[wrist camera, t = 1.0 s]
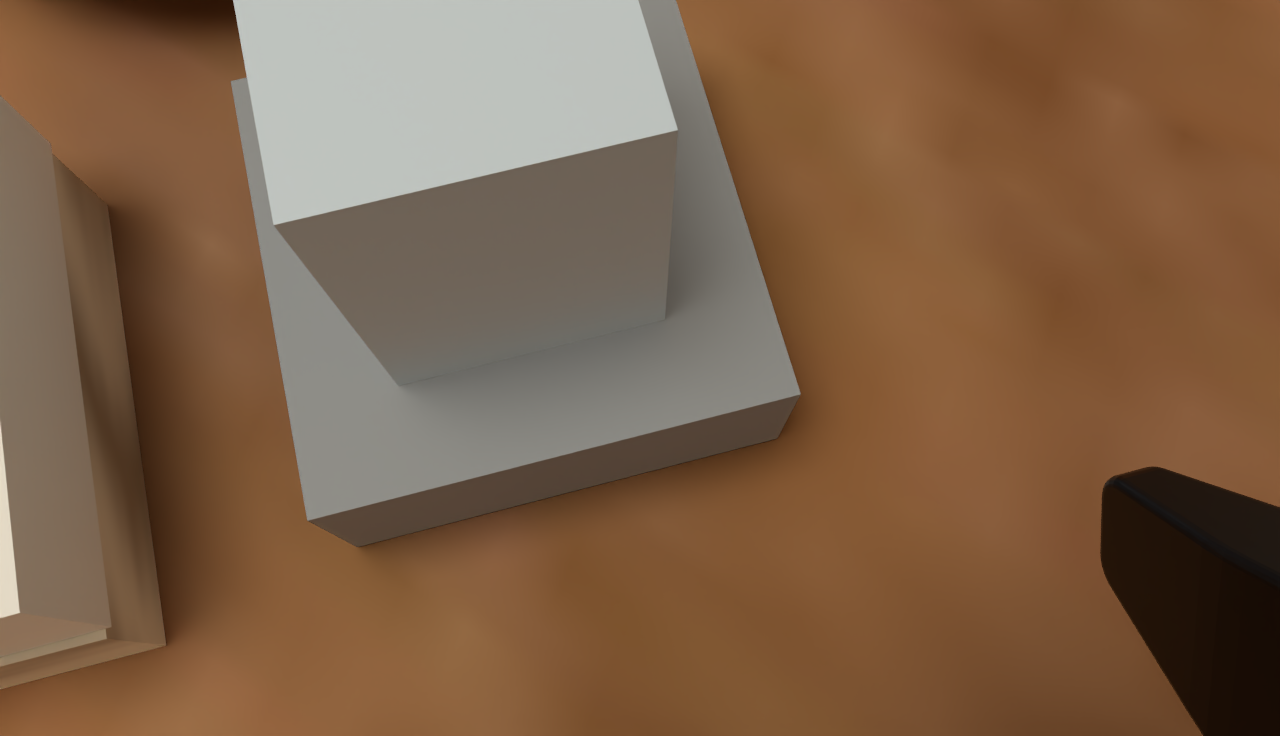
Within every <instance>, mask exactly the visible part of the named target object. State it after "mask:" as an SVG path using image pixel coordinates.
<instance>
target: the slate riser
mask: <svg viewBox="0 0 1280 736" xmlns="http://www.w3.org/2000/svg"><path fill="white" fill-rule="evenodd" d="M638 1H639V4H640V7H641V11H642V14H643V17H644V21H645V24H646V27H647V30H648V34H649V37H650V40H651V44H652V47H653V50H654V53H655V57H656V60H657V63H658V66H659V70H660V73H661V76H662V80H663V83H664V86H665V89H666V93H667V96H668V99H669V102H670V106H671V109H672V112H673V116H674V119H675V122H676V125H677V129H678V136H677V151H676V166H675V180H674V195H673V210H672V224H671V239H670V254H669V268H668V283H667V298H666V312H665V320H662V321H658V322H654V323H650V324H646V325H642V326H638V327H634V328H630V329H626V330H622V331H618V332H614V333H610V334H606V335H601V336H597V337H593V338H589V339H585V340H581V341H577V342H573V343H569V344H565V345H561V346H557V347H553V348H549V349H545V350H541V351H537V352H533V353H529V354H525V355H521V356H517V357H513V358H509V359H505V360H501V361H497V362H493V363H489V364H485V365H481V366H477V367H473V368H469V369H465V370H461V371H457V372H452V373H448V374H444V375H440V376H436V377H432V378H428V379H424V380H420V381H416V382H412V383H408V384H404V385H400V386H398V385H397V384H396V382H395V381H394V380H393V379H392V377H391V376H390V375H389V373H388V372H387V371H386V370H385V368H384V367H383V366H382V364H381V363H380V362H379V360H378V359H377V358H376V357H375V355H374V354H373V353H372V351H371V350H370V349H369V348H368V346H367V345H366V344H365V342H364V341H363V340H362V339H361V337H360V336H359V335H358V333H357V332H356V331H355V330H354V328H353V327H352V326H351V324H350V323H349V322H348V321H347V319H346V318H345V317H344V315H343V314H342V313H341V311H340V310H339V309H338V308H337V306H336V305H335V304H334V302H333V301H332V300H331V299H330V297H329V296H328V295H327V293H326V292H325V291H324V290H323V288H322V287H321V286H320V284H319V283H318V282H317V281H316V279H315V278H314V277H313V275H312V274H311V273H310V272H309V270H308V269H307V268H306V266H305V265H304V264H303V263H302V261H301V260H300V259H299V257H298V256H297V255H296V253H295V252H294V251H293V250H292V248H291V247H290V246H289V244H288V243H287V242H286V241H285V239H284V238H283V237H282V235H281V234H280V233H279V232H278V230H277V229H276V228H275V226H274V225H273V220H272V214H271V208H270V203H269V197H268V192H267V186H266V181H265V175H264V169H263V164H262V158H261V153H260V147H259V142H258V136H257V130H256V125H255V119H254V114H253V108H252V103H251V97H250V91H249V86H248V80H247V78H243V79H239V80H234V81H231V85H232V91H233V96H234V102H235V108H236V114H237V119H238V125H239V131H240V136H241V142H242V148H243V154H244V159H245V165H246V171H247V177H248V182H249V188H250V194H251V200H252V205H253V211H254V217H255V223H256V228H257V234H258V240H259V245H260V251H261V257H262V263H263V268H264V274H265V280H266V286H267V291H268V297H269V303H270V309H271V314H272V320H273V326H274V332H275V337H276V343H277V349H278V354H279V360H280V366H281V372H282V377H283V383H284V389H285V395H286V400H287V406H288V412H289V418H290V423H291V429H292V435H293V441H294V446H295V452H296V458H297V463H298V469H299V475H300V481H301V486H302V492H303V498H304V504H305V509H306V515H307V521H309V522H311V523H313V524H315V525H317V526H319V527H320V528H322V529H324V530H326V531H328V532H330V533H332V534H334V535H336V536H337V537H339V538H341V539H343V540H345V541H347V542H349V543H351V544H352V545H354V546H356V547H360V546H364V545H367V544H371V543H375V542H379V541H383V540H387V539H391V538H394V537H398V536H402V535H406V534H410V533H414V532H418V531H421V530H425V529H429V528H433V527H437V526H441V525H445V524H449V523H452V522H456V521H460V520H464V519H468V518H472V517H476V516H479V515H483V514H487V513H491V512H495V511H499V510H503V509H506V508H510V507H514V506H518V505H522V504H526V503H530V502H534V501H537V500H541V499H545V498H549V497H553V496H557V495H561V494H564V493H568V492H572V491H576V490H580V489H584V488H588V487H592V486H595V485H599V484H603V483H607V482H611V481H615V480H619V479H622V478H626V477H630V476H634V475H638V474H642V473H646V472H649V471H653V470H657V469H661V468H665V467H669V466H673V465H677V464H680V463H684V462H688V461H692V460H696V459H700V458H704V457H707V456H711V455H715V454H719V453H723V452H727V451H731V450H734V449H738V448H742V447H746V446H750V445H754V444H758V443H762V442H765V441H769V440H773V439H777V438H778V436H779V434H780V432H781V430H782V429H783V427H784V425H785V423H786V421H787V419H788V417H789V415H790V414H791V412H792V410H793V408H794V406H795V404H796V402H797V400H798V399H799V397H800V395H801V393H800V390H799V387H798V384H797V381H796V378H795V375H794V371H793V368H792V365H791V362H790V359H789V356H788V352H787V349H786V346H785V343H784V340H783V337H782V334H781V330H780V327H779V324H778V321H777V318H776V315H775V311H774V308H773V305H772V302H771V299H770V296H769V293H768V289H767V286H766V283H765V280H764V277H763V274H762V270H761V267H760V264H759V261H758V258H757V255H756V252H755V248H754V245H753V242H752V239H751V236H750V233H749V229H748V226H747V223H746V220H745V217H744V214H743V211H742V207H741V204H740V201H739V198H738V195H737V192H736V188H735V185H734V182H733V179H732V176H731V173H730V170H729V166H728V163H727V160H726V157H725V154H724V151H723V147H722V144H721V141H720V138H719V135H718V132H717V129H716V125H715V122H714V119H713V116H712V113H711V110H710V106H709V103H708V100H707V97H706V94H705V91H704V88H703V84H702V81H701V78H700V75H699V72H698V69H697V65H696V62H695V59H694V56H693V53H692V50H691V47H690V43H689V40H688V37H687V34H686V31H685V28H684V24H683V21H682V18H681V15H680V12H679V9H678V6H677V2H676V0H638Z"/></svg>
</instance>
